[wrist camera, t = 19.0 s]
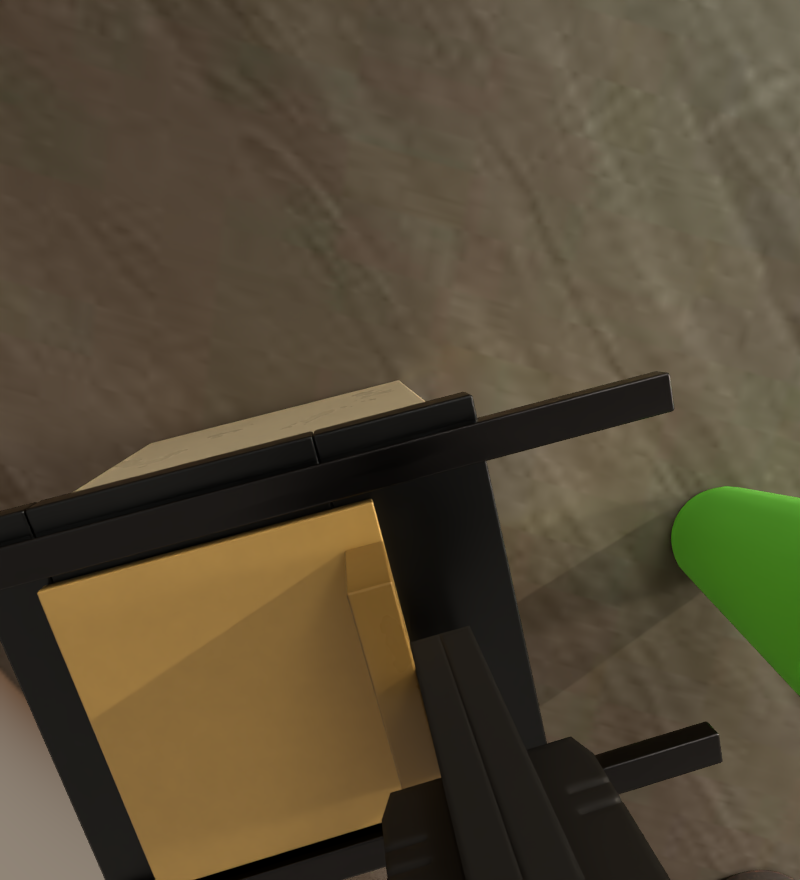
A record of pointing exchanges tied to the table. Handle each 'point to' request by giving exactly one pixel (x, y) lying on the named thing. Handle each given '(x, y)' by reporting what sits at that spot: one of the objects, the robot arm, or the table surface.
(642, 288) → the table surface
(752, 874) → the container
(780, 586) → the cup
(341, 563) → the shutter
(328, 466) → the sliding lid box
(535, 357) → the table surface
